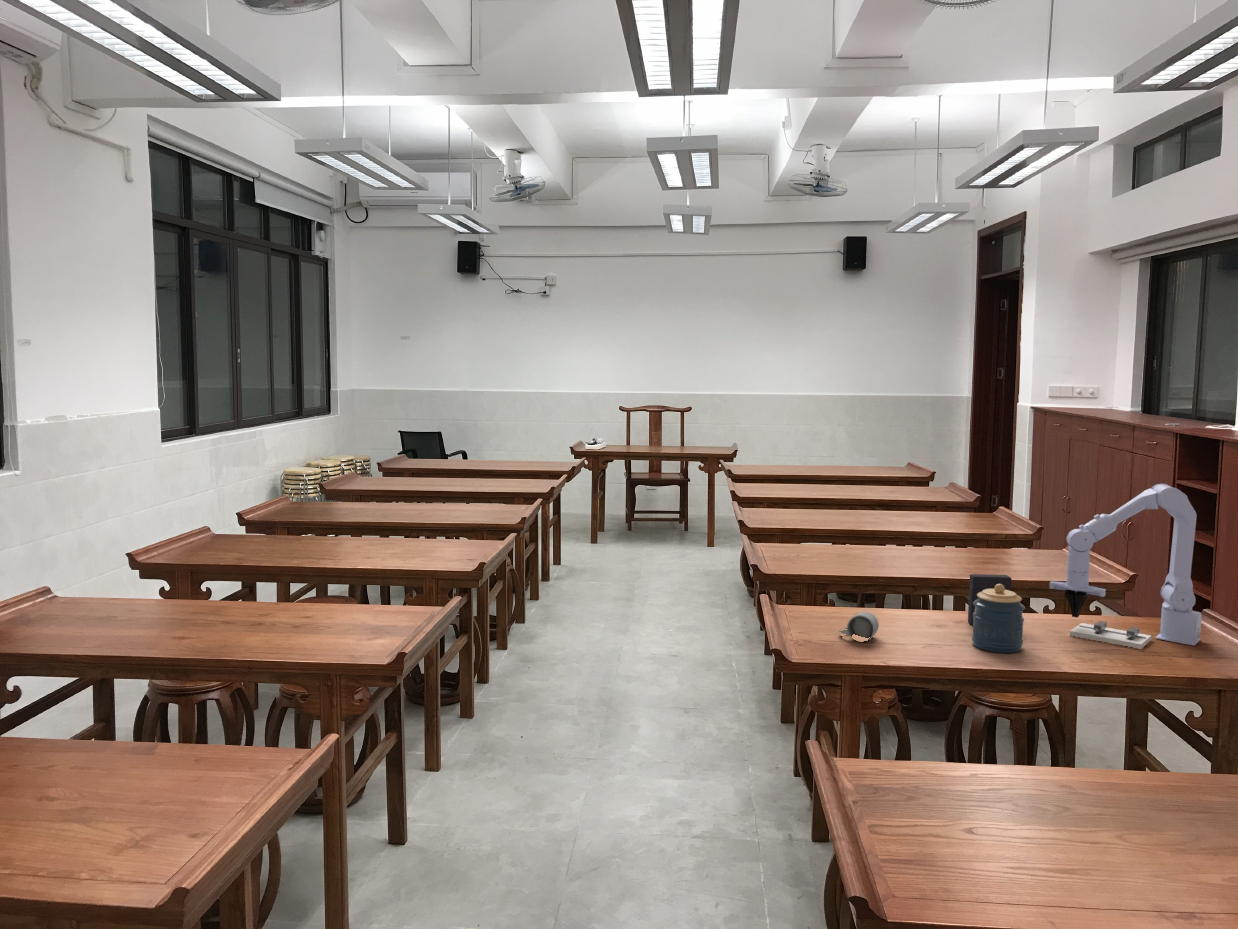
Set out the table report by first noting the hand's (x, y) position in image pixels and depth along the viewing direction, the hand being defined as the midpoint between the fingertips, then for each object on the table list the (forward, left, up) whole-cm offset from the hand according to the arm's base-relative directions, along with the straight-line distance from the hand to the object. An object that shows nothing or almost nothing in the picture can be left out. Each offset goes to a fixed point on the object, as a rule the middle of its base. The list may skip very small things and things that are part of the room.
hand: (1075, 616), depth 255 cm
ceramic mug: (+43, +50, -5) cm, 66 cm away
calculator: (+21, +11, -5) cm, 24 cm away
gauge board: (-9, +1, -4) cm, 10 cm away
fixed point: (-15, 0, -2) cm, 15 cm away
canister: (+11, +31, -5) cm, 33 cm away
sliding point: (-7, 0, -2) cm, 7 cm away
